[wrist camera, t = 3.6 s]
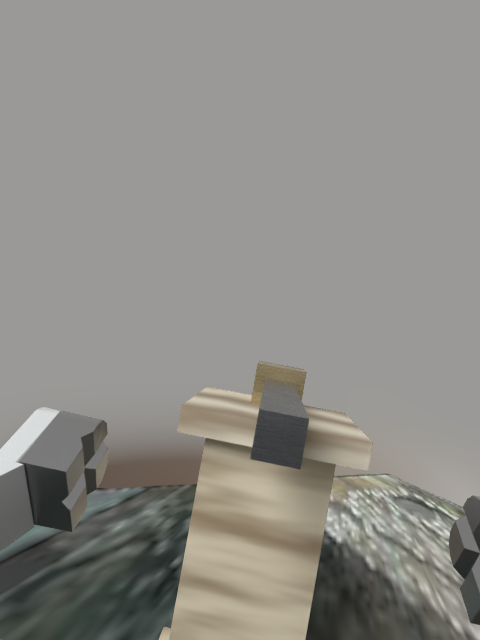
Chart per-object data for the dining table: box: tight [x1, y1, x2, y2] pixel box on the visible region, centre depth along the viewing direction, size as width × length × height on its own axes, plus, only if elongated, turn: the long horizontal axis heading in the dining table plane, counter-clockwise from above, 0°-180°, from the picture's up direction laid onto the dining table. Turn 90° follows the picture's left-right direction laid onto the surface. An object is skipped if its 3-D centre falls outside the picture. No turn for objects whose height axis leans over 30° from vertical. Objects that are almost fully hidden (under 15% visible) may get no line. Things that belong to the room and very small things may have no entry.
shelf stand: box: [159, 387, 372, 640], centre depth 36 cm, size 12×14×26 cm
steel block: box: [250, 361, 309, 469], centre depth 32 cm, size 22×4×4 cm, turn 175°
